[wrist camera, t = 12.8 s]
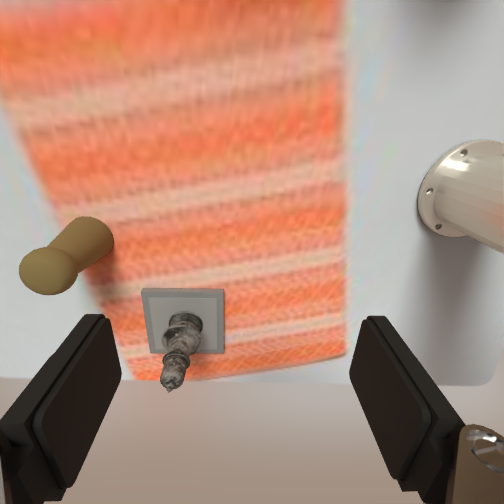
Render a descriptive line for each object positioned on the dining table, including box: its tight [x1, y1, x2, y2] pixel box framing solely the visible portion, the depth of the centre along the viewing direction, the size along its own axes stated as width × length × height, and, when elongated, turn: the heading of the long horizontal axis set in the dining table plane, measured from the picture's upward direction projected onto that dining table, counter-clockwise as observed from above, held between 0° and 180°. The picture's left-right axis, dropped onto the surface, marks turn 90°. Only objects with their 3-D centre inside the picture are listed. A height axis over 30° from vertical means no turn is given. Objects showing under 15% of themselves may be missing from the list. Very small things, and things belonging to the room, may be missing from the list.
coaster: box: [141, 288, 224, 353], centre depth 45 cm, size 12×12×1 cm
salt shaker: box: [160, 311, 203, 392], centre depth 39 cm, size 6×6×12 cm
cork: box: [19, 217, 114, 295], centre depth 33 cm, size 6×6×11 cm
